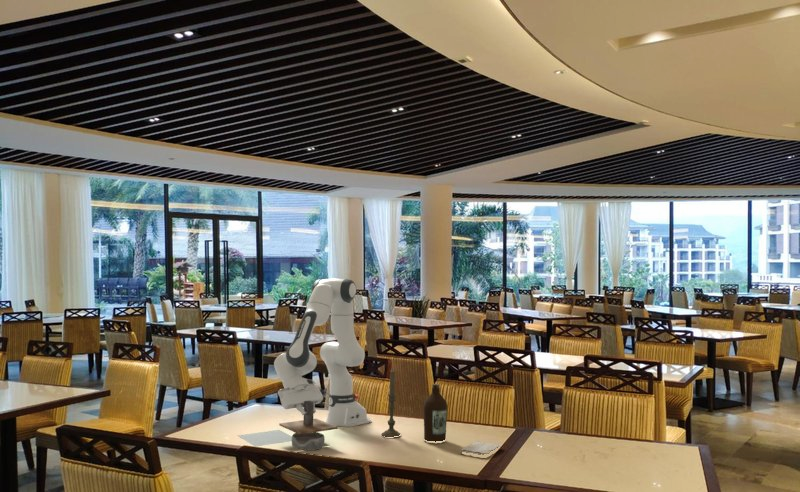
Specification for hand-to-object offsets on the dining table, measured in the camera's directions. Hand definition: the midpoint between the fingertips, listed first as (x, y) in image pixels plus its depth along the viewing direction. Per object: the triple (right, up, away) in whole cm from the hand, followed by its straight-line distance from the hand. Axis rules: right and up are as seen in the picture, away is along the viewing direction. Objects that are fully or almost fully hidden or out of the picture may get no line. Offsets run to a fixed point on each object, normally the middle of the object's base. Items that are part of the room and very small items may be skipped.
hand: (309, 413), depth 279 cm
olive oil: (+54, -16, +12) cm, 57 cm away
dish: (-1, -14, 0) cm, 14 cm away
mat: (-20, -14, +10) cm, 26 cm away
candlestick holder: (+34, -15, +20) cm, 43 cm away
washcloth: (+72, -16, -3) cm, 74 cm away
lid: (-1, -6, 0) cm, 6 cm away
